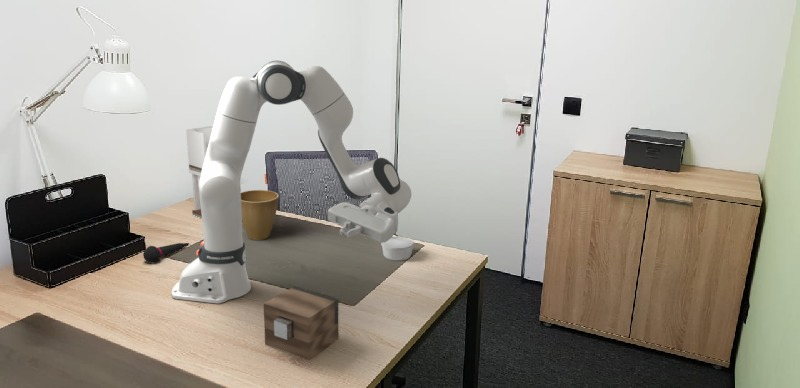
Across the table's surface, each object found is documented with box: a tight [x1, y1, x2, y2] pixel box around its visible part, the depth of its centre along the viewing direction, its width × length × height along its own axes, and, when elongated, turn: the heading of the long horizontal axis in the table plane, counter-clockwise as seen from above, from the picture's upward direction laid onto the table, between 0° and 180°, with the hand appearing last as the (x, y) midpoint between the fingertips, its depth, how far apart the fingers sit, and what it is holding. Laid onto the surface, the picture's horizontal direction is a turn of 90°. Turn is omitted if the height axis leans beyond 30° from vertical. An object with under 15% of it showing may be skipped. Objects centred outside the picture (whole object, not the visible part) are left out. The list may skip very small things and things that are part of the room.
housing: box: [263, 285, 339, 361], centre depth 156 cm, size 12×14×11 cm
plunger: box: [274, 317, 294, 340], centre depth 154 cm, size 14×4×4 cm, turn 150°
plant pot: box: [241, 189, 279, 241], centre depth 226 cm, size 15×15×16 cm
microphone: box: [142, 242, 190, 263], centre depth 210 cm, size 6×6×20 cm
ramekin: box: [380, 236, 415, 262], centre depth 213 cm, size 11×11×5 cm
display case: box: [185, 126, 213, 219], centre depth 245 cm, size 11×11×35 cm
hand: (343, 234), depth 169 cm, fingers closed
